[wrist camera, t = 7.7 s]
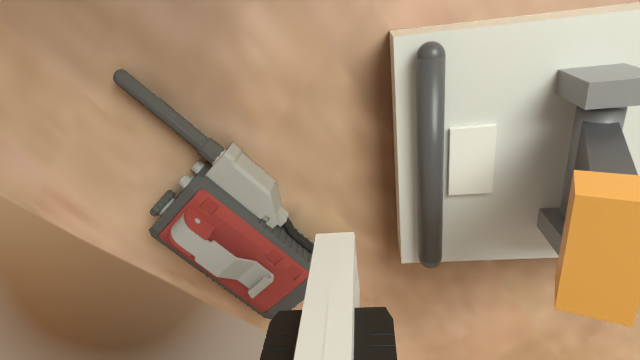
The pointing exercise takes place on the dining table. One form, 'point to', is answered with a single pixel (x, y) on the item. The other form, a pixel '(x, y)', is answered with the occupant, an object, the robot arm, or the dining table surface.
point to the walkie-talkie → (229, 219)
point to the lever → (600, 221)
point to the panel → (501, 126)
